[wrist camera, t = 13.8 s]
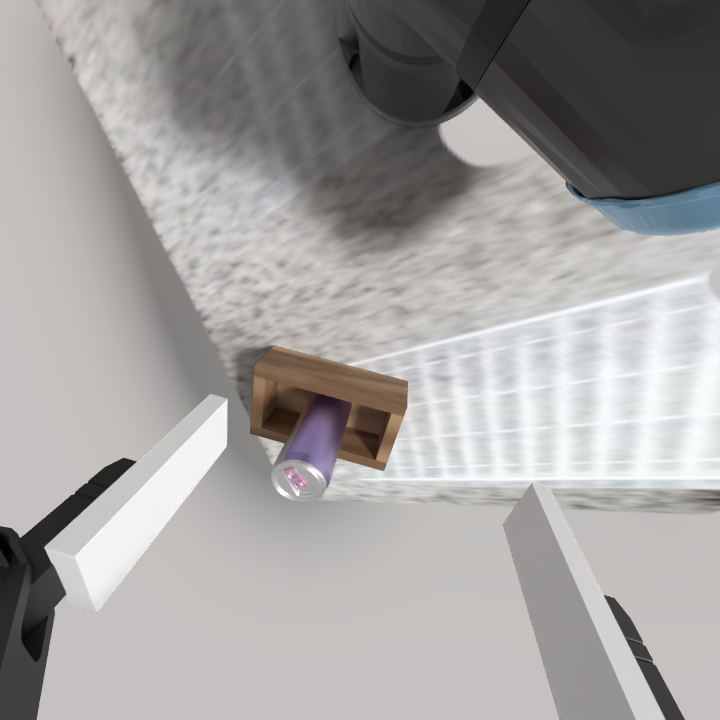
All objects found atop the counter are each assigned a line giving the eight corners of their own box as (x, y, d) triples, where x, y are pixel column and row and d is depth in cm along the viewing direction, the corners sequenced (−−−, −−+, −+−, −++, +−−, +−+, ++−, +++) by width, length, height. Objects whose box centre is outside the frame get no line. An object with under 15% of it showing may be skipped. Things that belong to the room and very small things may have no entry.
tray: (274, 345, 42) (254, 365, 37) (407, 381, 42) (407, 406, 36) (268, 408, 47) (249, 433, 42) (387, 441, 47) (383, 471, 41)
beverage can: (340, 375, 42) (307, 453, 28) (360, 409, 43) (338, 497, 30) (304, 389, 43) (257, 469, 30) (325, 421, 45) (289, 509, 32)
